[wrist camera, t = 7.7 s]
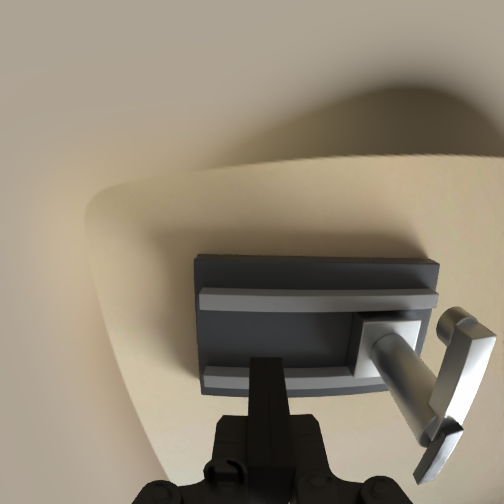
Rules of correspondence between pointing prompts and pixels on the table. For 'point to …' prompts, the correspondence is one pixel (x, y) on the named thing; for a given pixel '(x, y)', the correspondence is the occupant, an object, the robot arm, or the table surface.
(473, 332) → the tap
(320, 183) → the table surface
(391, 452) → the table surface
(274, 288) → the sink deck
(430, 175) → the table surface
